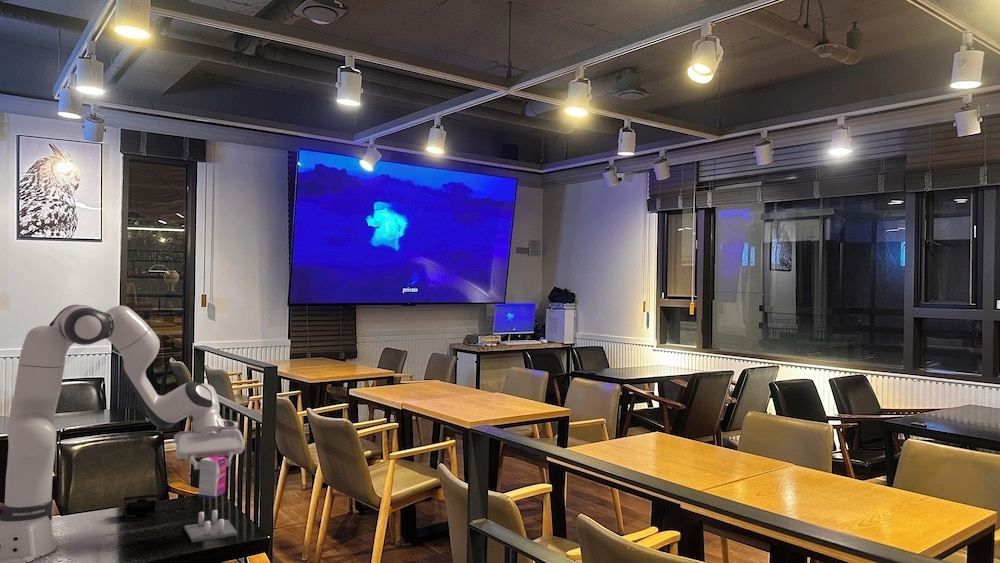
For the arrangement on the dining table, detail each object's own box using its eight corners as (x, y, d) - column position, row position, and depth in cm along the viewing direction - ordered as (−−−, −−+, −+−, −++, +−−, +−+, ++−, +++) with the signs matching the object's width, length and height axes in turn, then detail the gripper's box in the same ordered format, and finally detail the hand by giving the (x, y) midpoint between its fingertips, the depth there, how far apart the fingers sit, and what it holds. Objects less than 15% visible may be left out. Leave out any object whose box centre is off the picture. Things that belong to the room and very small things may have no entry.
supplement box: (215, 498, 218) (216, 461, 218) (198, 496, 219) (199, 459, 219) (226, 492, 223) (227, 456, 223) (209, 491, 224) (210, 455, 224)
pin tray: (192, 542, 212) (192, 525, 212) (184, 528, 223) (185, 513, 223) (237, 535, 219) (237, 519, 219) (227, 522, 230) (228, 507, 230)
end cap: (156, 511, 238) (157, 491, 238) (157, 518, 232) (158, 497, 232) (123, 515, 233) (124, 494, 233) (123, 521, 227) (124, 500, 227)
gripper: (174, 426, 222) (178, 465, 214) (242, 421, 233) (248, 458, 225) (171, 437, 226) (175, 476, 218) (238, 432, 237) (244, 468, 229)
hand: (213, 466), depth 221 cm, fingers closed on supplement box, 8 cm apart
